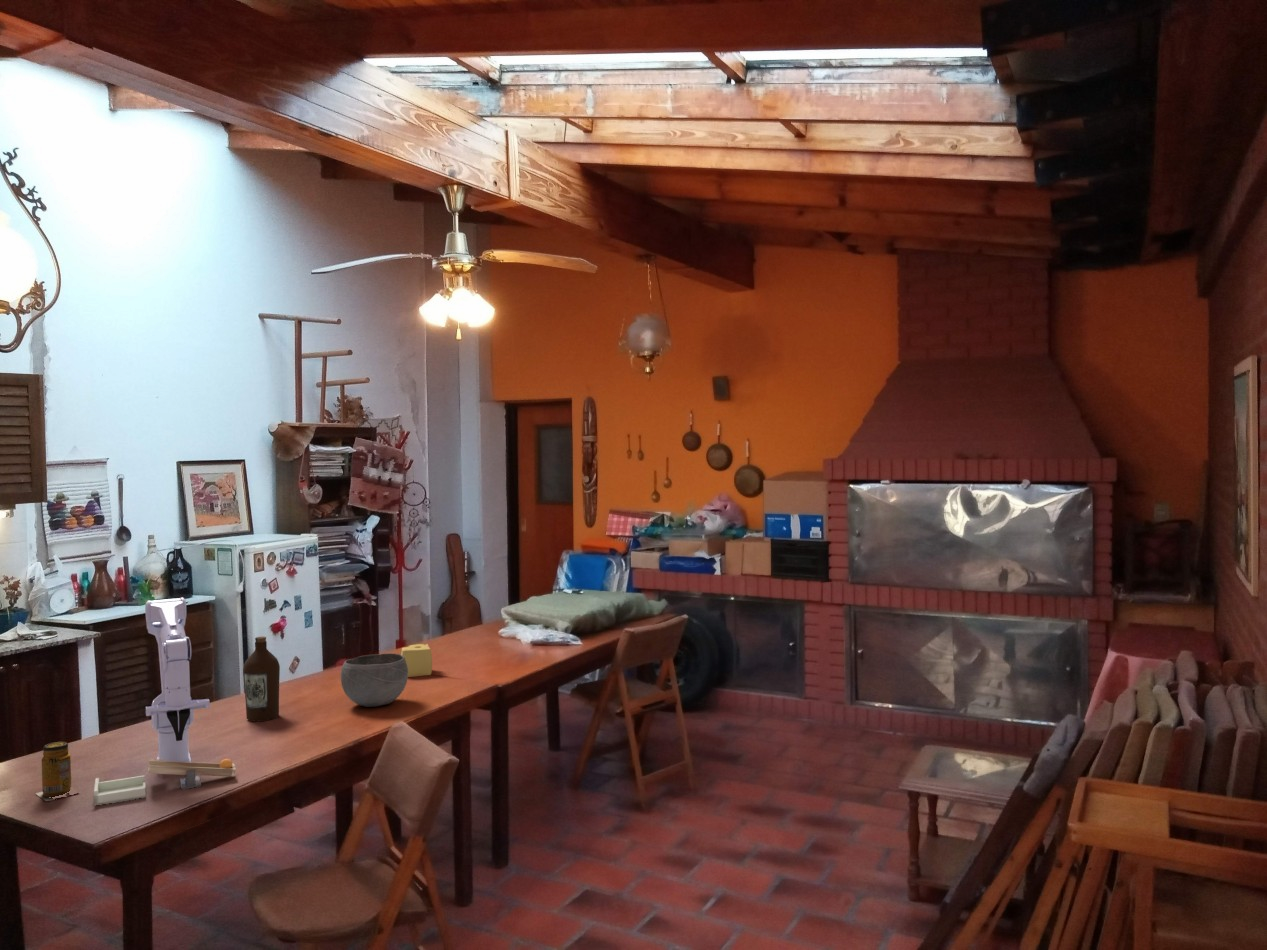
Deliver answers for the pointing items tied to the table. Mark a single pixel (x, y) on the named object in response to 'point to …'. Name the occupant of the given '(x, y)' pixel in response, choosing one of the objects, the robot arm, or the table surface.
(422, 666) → the cheese
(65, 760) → the condiment
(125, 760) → the table surface
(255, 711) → the olive oil
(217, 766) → the lever
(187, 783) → the pivot
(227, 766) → the ball
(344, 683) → the bowl
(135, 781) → the dish
